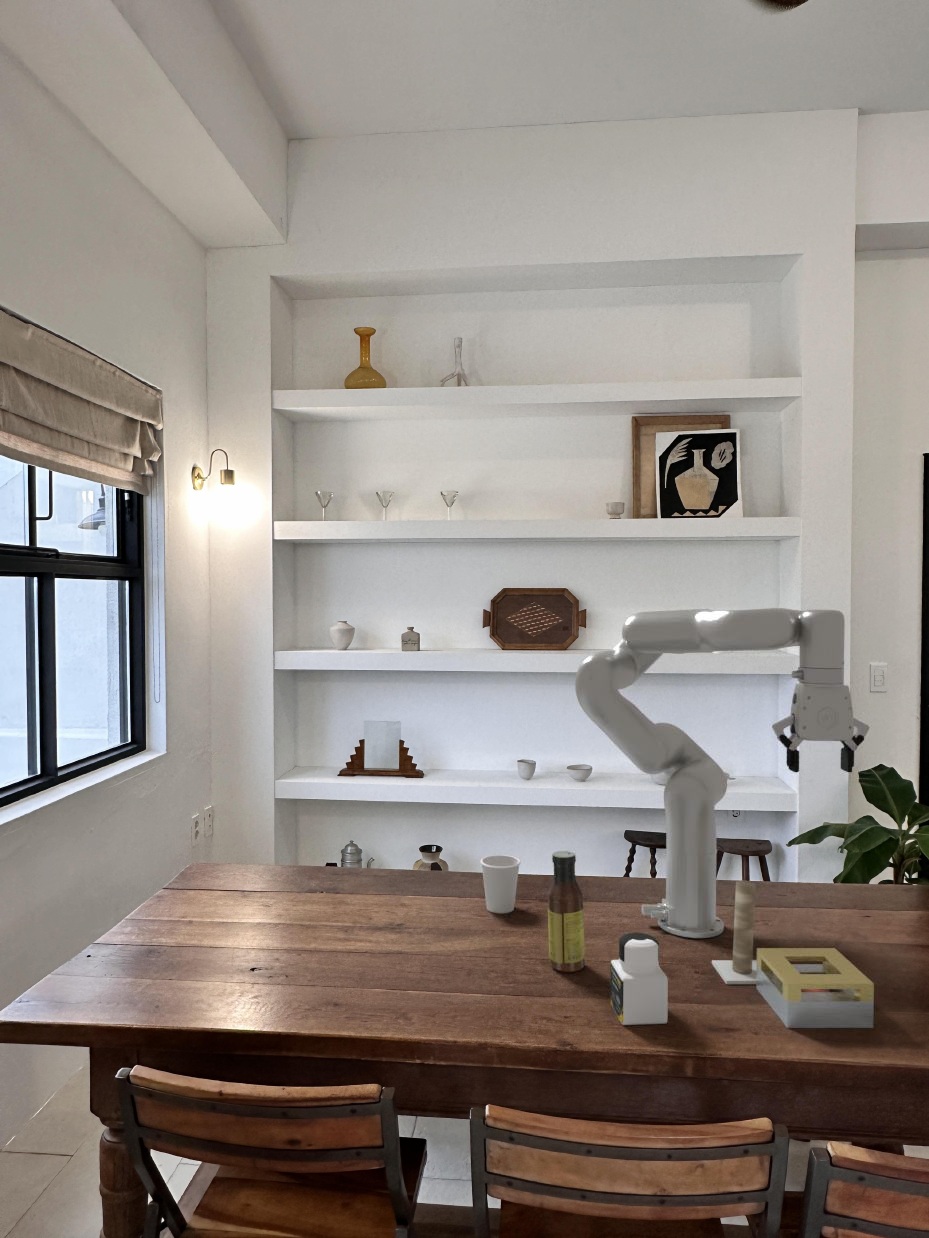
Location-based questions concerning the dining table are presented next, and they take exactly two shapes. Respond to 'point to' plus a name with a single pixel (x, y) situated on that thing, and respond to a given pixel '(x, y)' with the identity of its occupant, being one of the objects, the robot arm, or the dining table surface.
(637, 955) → the medicine bottle
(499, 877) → the dixie cup
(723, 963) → the pad
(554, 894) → the sauce bottle
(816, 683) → the robot arm
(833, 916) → the dining table surface
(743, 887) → the beige cylinder rod
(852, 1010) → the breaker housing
